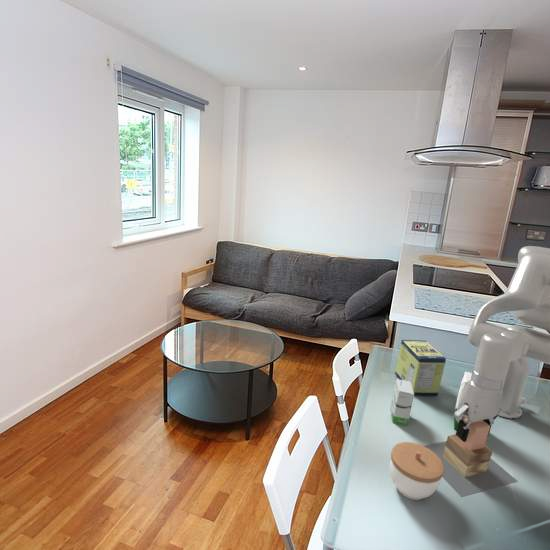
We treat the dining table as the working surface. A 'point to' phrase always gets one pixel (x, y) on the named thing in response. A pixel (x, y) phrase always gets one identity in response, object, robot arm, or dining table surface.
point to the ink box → (402, 402)
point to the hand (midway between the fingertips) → (471, 435)
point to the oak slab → (461, 466)
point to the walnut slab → (468, 452)
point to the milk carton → (463, 384)
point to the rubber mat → (472, 483)
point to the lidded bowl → (415, 470)
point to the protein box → (420, 367)
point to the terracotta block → (476, 435)
